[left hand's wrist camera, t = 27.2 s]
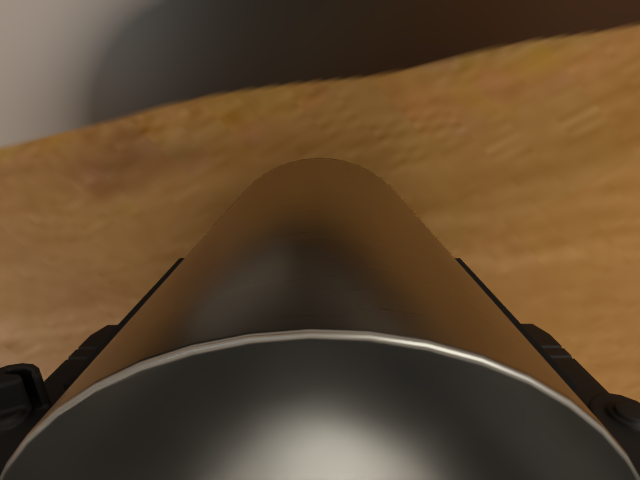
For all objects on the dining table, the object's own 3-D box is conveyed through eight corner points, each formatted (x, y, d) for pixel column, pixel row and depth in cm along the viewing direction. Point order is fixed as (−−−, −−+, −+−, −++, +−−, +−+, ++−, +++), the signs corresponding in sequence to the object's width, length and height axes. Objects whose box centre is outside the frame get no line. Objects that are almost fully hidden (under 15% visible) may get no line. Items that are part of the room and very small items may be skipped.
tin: (193, 191, 16) (-191, 445, 4) (393, 131, 15) (678, 224, 3) (261, 352, 19) (161, 773, 7) (431, 311, 18) (649, 710, 6)
